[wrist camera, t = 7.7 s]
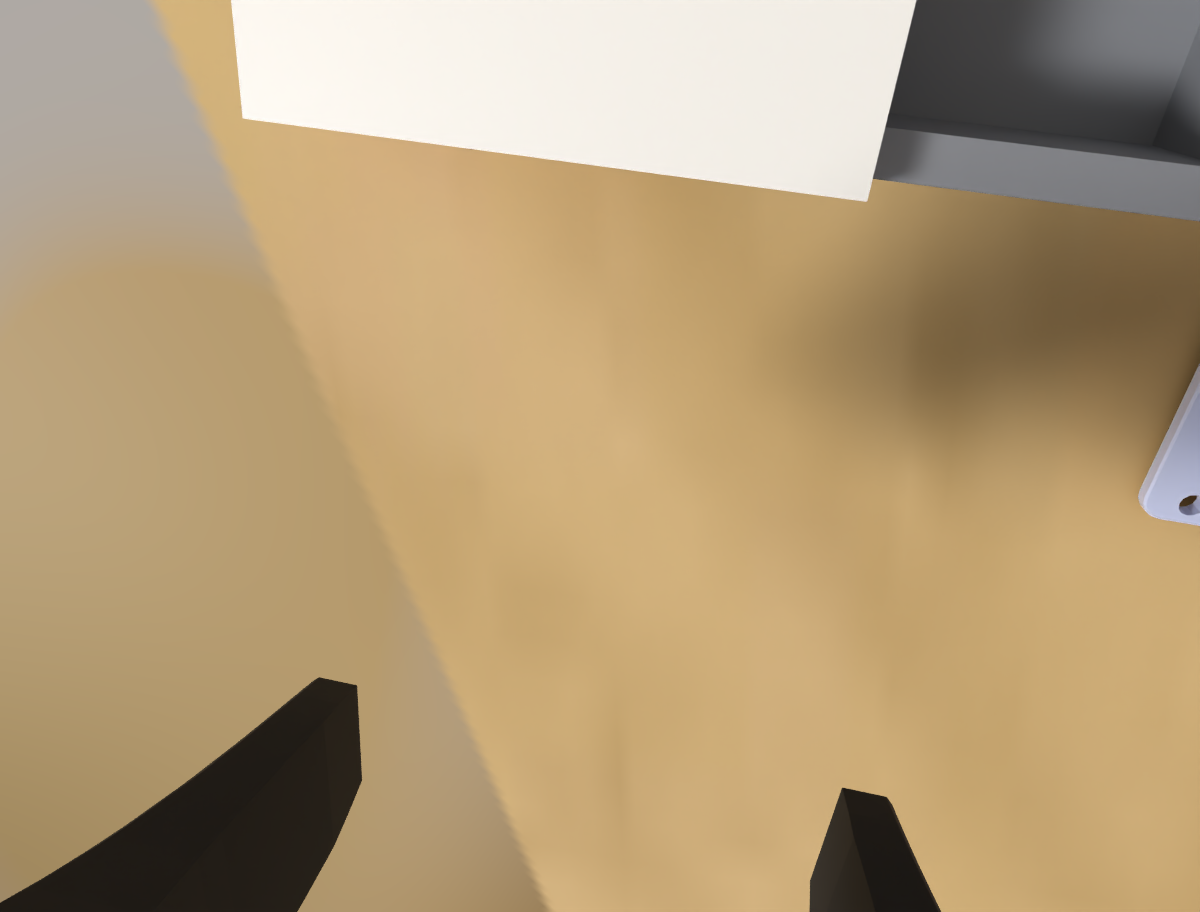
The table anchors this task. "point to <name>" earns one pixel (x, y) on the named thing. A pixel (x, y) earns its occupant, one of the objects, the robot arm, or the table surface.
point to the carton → (1051, 102)
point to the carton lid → (594, 80)
